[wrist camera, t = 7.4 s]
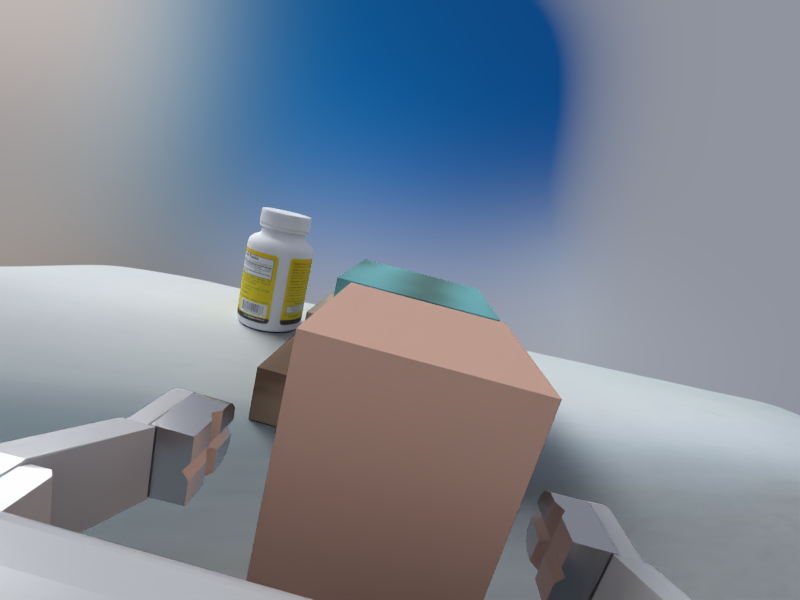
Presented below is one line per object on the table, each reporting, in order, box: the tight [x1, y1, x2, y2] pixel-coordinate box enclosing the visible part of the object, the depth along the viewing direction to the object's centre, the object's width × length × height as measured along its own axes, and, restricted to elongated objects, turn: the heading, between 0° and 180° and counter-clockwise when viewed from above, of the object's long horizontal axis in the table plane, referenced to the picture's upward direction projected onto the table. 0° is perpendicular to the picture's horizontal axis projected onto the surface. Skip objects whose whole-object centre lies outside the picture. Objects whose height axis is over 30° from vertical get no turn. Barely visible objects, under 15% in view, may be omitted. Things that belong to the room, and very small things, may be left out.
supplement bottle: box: [237, 207, 313, 332], centre depth 32 cm, size 5×5×10 cm
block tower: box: [249, 259, 500, 427], centre depth 25 cm, size 14×14×8 cm
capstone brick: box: [246, 282, 562, 600], centre depth 9 cm, size 4×4×10 cm
